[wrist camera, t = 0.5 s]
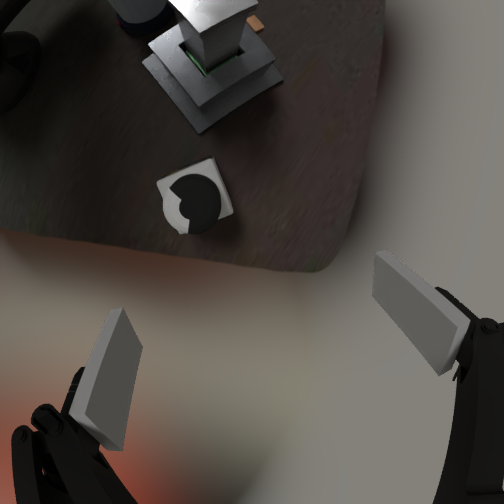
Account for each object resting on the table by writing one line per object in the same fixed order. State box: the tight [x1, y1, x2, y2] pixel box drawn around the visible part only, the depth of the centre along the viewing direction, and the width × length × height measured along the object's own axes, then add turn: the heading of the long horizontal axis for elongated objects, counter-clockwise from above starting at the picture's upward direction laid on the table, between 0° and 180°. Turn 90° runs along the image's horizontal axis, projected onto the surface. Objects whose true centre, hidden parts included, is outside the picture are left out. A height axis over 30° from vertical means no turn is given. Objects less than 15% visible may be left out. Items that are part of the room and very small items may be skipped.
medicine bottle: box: [157, 156, 233, 234], centre depth 33 cm, size 7×7×12 cm
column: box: [165, 0, 258, 77], centre depth 22 cm, size 5×5×21 cm
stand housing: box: [142, 15, 284, 134], centre depth 27 cm, size 14×14×9 cm
